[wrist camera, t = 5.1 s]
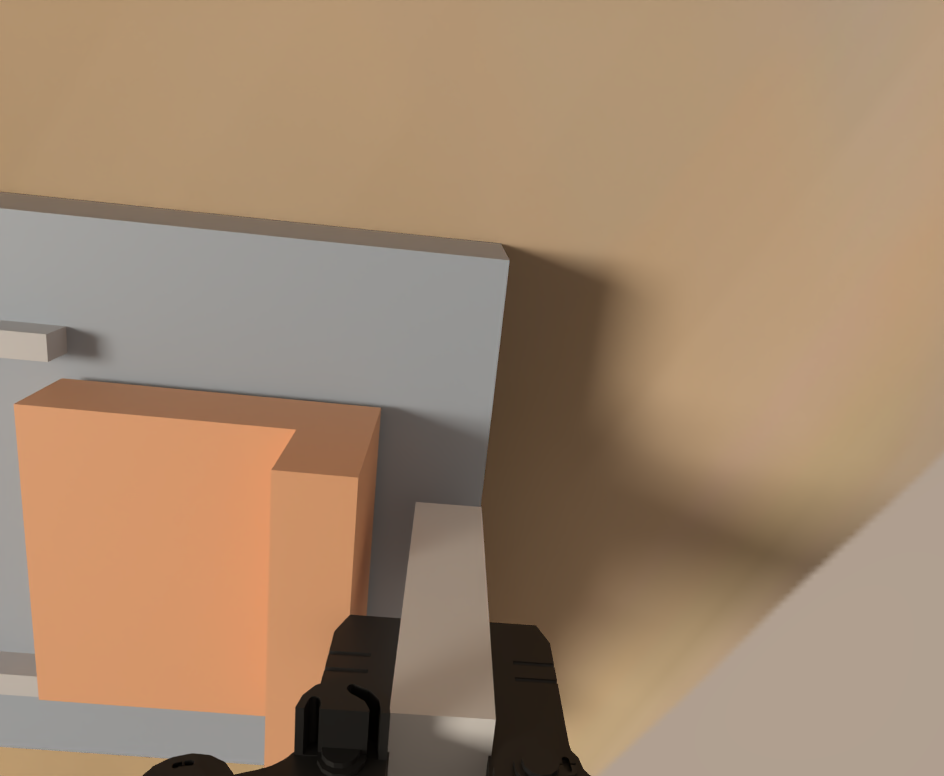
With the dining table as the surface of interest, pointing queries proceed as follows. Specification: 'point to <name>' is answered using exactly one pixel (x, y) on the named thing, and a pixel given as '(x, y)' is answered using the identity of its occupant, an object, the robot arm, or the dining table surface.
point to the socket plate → (239, 387)
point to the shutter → (193, 545)
